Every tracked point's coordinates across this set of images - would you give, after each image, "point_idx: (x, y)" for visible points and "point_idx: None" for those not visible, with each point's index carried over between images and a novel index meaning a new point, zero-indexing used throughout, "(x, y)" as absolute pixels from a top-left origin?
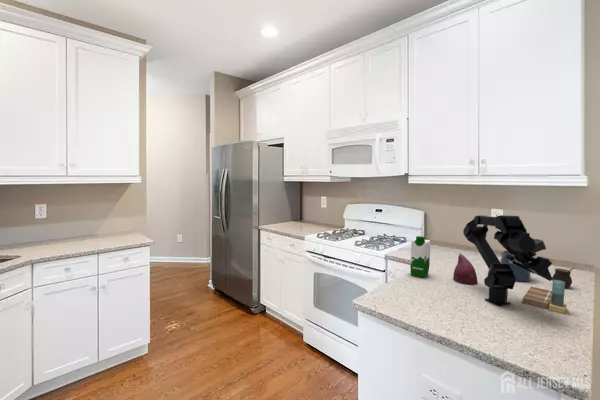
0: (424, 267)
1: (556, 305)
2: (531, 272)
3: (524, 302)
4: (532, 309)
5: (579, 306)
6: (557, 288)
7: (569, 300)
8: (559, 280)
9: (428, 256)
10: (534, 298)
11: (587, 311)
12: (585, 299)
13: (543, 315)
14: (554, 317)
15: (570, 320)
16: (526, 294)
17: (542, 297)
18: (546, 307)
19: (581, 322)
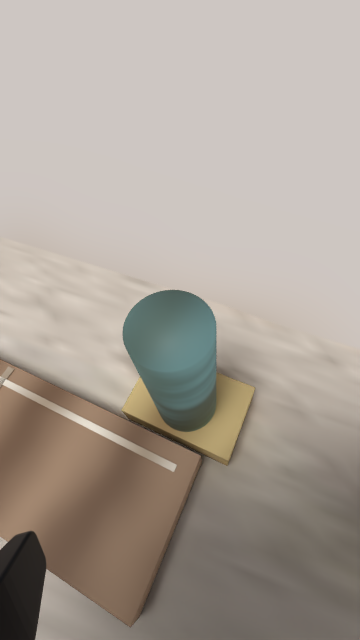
0: None
1: (214, 414)
2: (36, 617)
3: (144, 603)
4: (257, 582)
5: (103, 295)
6: (210, 372)
7: (30, 305)
8: (137, 314)
9: None
10: (113, 515)
11: (160, 288)
12: (8, 247)
13: (347, 541)
14: (343, 476)
15: (339, 402)
16: None
17: (77, 444)
18: (199, 467)
19: (336, 361)
